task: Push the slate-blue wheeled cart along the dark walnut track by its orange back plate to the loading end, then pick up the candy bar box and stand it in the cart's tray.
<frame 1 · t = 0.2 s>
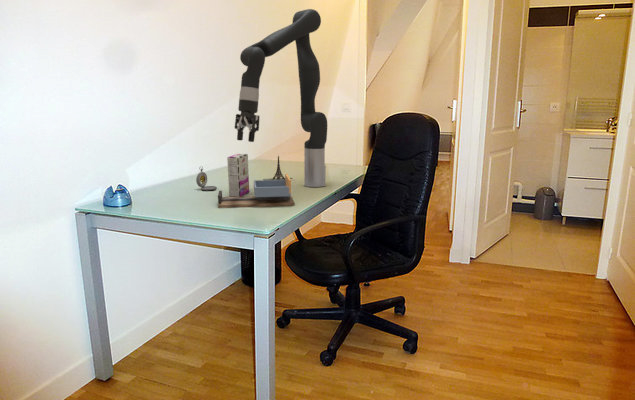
hand: (245, 141, 180), 22 cm above the table, tool pointing down, fingers open, 8 cm apart
candy bar box: (239, 195, 187), on the table
track: (256, 202, 173), on the table
cart: (271, 187, 173), point 5 cm above the table, slide at 0.0 cm
pocket watch: (207, 189, 198), on the table
eiffel tower figurine: (278, 181, 221), on the table
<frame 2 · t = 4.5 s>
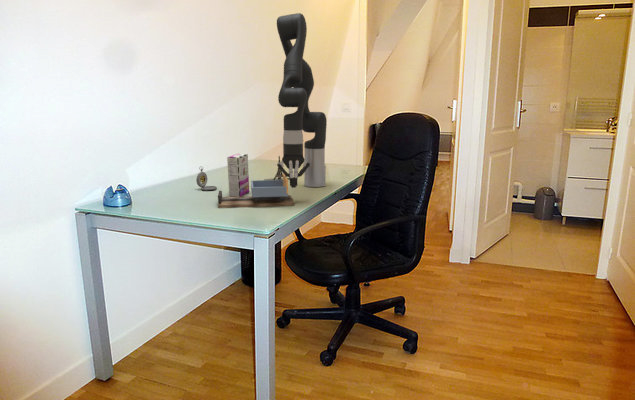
hand: (293, 187, 174), 6 cm above the table, tool pointing down, fingers closed
cart: (268, 188, 173), point 5 cm above the table, slide at 1.1 cm, touching gripper
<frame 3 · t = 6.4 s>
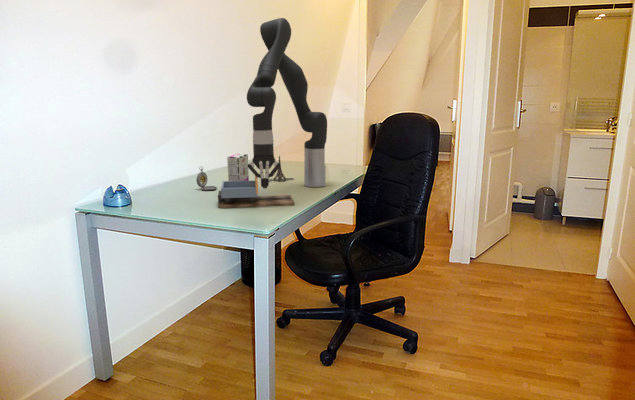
hand: (264, 187, 172), 6 cm above the table, tool pointing down, fingers closed
cart: (239, 188, 171), point 6 cm above the table, slide at 12.1 cm, touching gripper
everything else where it was.
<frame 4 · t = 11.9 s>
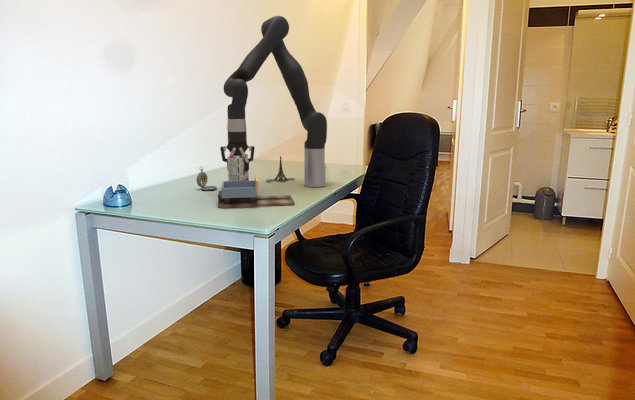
hand: (238, 171, 185), 10 cm above the table, tool pointing down, fingers closed on candy bar box, 6 cm apart
candy bar box: (239, 194, 187), on the table, touching gripper
cart: (239, 188, 171), point 6 cm above the table, slide at 12.0 cm
when the fingers open (16 cm above the table, at t = 17.6 s): candy bar box drops 2 cm, resting on cart.
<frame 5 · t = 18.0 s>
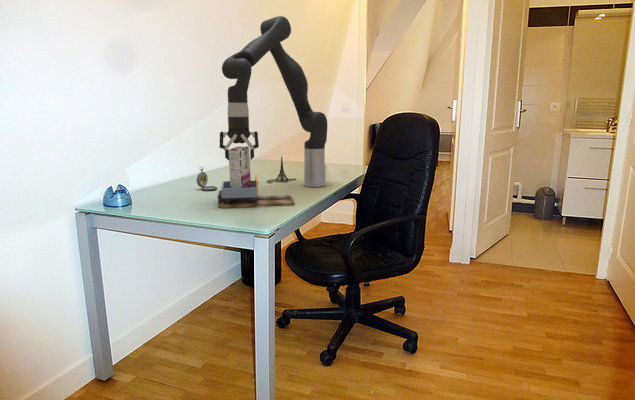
hand: (239, 159, 168), 17 cm above the table, tool pointing down, fingers open, 8 cm apart
candy bar box: (240, 191, 171), point 4 cm above the table, touching cart
cart: (240, 188, 171), point 5 cm above the table, slide at 12.0 cm, touching candy bar box
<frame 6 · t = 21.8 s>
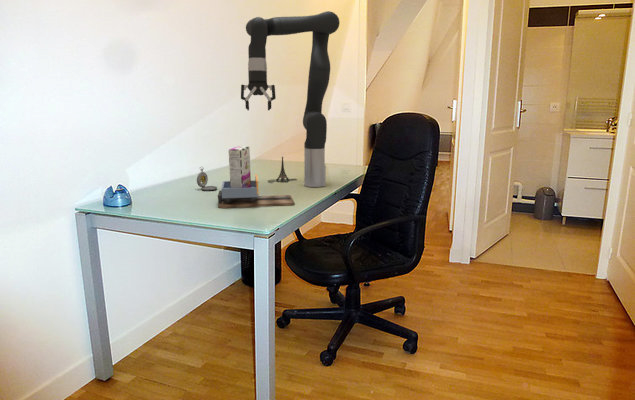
hand: (258, 110, 188), 34 cm above the table, tool pointing down, fingers open, 8 cm apart
at the end: cart slide at 11.9 cm; candy bar box inside the target area (0.4 cm from its centre), point 4.5 cm above the table; candy bar box tilted 0° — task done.
